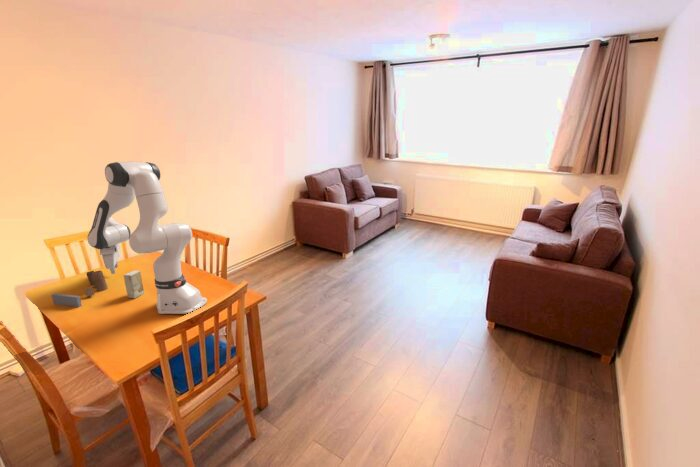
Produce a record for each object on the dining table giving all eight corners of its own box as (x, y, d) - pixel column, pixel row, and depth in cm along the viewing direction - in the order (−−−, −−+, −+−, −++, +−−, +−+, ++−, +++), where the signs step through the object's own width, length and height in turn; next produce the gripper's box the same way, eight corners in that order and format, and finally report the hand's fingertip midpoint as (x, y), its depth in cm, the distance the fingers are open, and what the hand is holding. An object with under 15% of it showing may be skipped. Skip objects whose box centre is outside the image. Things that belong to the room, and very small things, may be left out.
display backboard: (81, 305, 157) (79, 295, 156) (78, 307, 156) (76, 297, 154) (57, 302, 160) (54, 293, 158) (54, 304, 158) (51, 294, 157)
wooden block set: (86, 286, 177) (80, 268, 173) (106, 280, 182) (100, 263, 178) (87, 299, 164) (80, 281, 160) (108, 293, 168) (102, 275, 165)
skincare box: (134, 298, 164) (130, 275, 160) (127, 297, 165) (122, 275, 161) (145, 292, 170) (140, 270, 166) (137, 292, 171) (133, 269, 167)
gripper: (105, 241, 185) (110, 264, 189) (99, 253, 168) (104, 278, 172) (119, 240, 188) (124, 263, 192) (114, 251, 171) (119, 276, 175)
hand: (114, 270), depth 182 cm, fingers open, 8 cm apart
